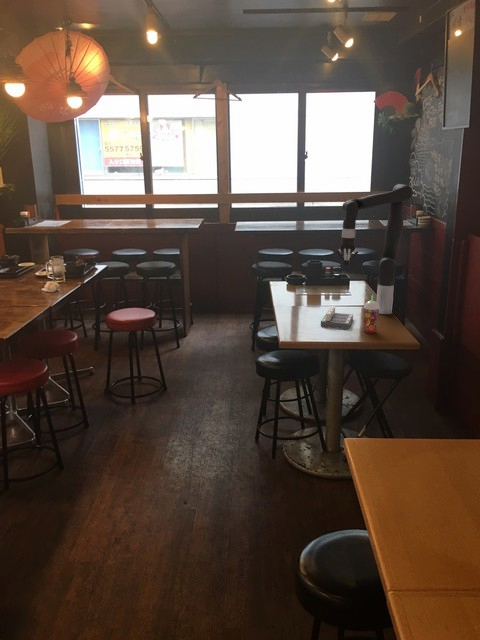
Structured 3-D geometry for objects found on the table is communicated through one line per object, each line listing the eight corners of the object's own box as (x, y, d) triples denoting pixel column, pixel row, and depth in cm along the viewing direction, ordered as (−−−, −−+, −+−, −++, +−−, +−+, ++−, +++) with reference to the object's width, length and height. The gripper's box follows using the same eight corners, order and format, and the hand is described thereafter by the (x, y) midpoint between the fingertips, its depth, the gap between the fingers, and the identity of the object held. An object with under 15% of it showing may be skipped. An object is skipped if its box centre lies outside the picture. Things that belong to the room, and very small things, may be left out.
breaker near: (331, 318, 310) (331, 311, 309) (329, 321, 306) (330, 314, 305) (327, 318, 311) (327, 311, 310) (325, 320, 306) (325, 313, 305)
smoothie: (366, 328, 304) (368, 292, 298) (380, 331, 299) (383, 295, 293) (358, 332, 298) (361, 295, 292) (373, 335, 293) (376, 298, 287)
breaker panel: (352, 319, 321) (353, 314, 320) (348, 329, 303) (348, 323, 302) (326, 317, 325) (327, 312, 324) (320, 326, 307) (320, 321, 306)
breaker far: (334, 312, 322) (335, 306, 321) (333, 315, 318) (333, 308, 316) (330, 312, 323) (331, 305, 322) (329, 314, 318) (329, 307, 317)
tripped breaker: (333, 315, 316) (333, 308, 315) (331, 317, 312) (332, 311, 310) (328, 315, 317) (329, 308, 316) (327, 317, 312) (327, 310, 311)
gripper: (361, 236, 319) (358, 266, 323) (337, 235, 323) (336, 264, 327) (359, 237, 312) (357, 268, 317) (335, 236, 316) (334, 266, 321)
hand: (346, 266), depth 322 cm, fingers closed
